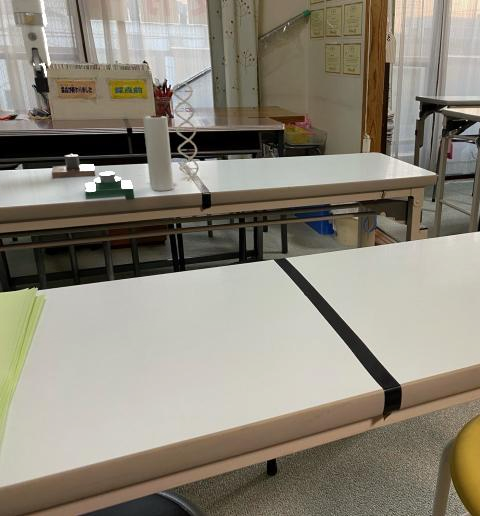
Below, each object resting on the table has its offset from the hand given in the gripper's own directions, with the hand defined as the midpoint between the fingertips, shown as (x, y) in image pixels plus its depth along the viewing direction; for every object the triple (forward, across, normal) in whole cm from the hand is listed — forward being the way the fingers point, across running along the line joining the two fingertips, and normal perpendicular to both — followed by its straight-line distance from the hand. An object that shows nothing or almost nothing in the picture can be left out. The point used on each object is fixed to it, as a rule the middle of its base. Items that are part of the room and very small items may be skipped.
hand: (43, 92), depth 145 cm
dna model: (+27, -2, -38) cm, 47 cm away
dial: (+24, +12, -4) cm, 27 cm away
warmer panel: (+27, +12, -4) cm, 30 cm away
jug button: (+22, -18, -13) cm, 32 cm away
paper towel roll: (+27, -13, -28) cm, 41 cm away
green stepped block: (+27, -18, -13) cm, 35 cm away
